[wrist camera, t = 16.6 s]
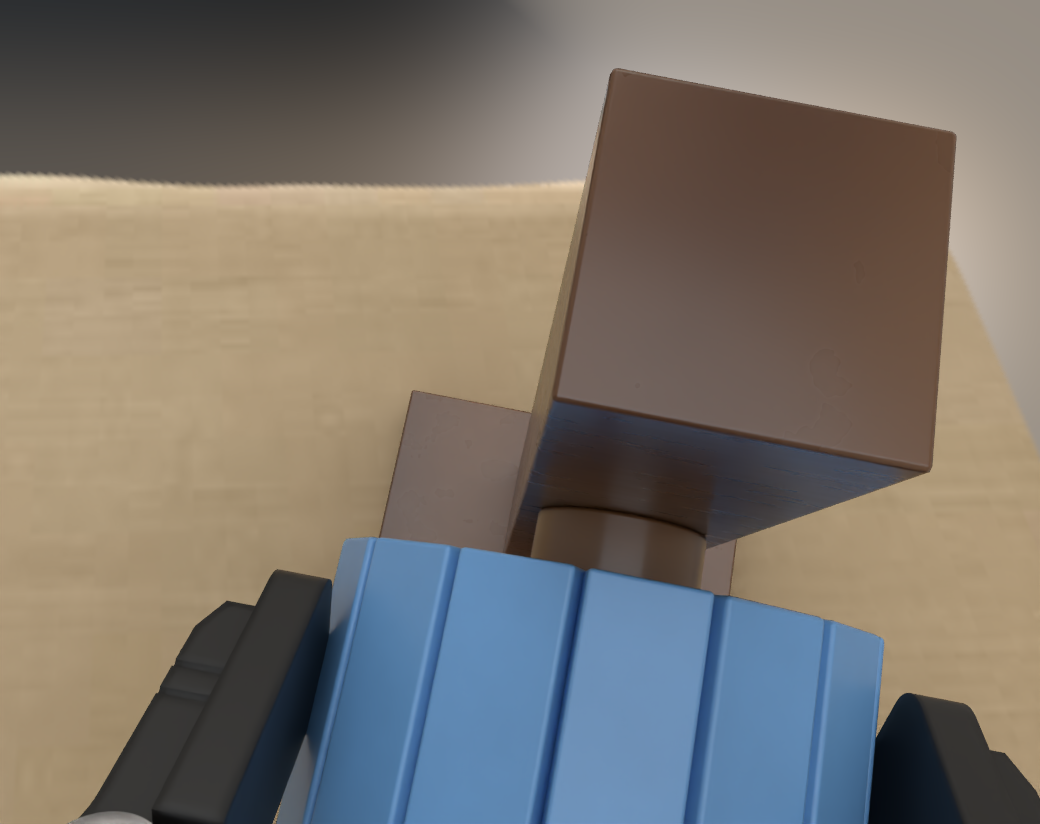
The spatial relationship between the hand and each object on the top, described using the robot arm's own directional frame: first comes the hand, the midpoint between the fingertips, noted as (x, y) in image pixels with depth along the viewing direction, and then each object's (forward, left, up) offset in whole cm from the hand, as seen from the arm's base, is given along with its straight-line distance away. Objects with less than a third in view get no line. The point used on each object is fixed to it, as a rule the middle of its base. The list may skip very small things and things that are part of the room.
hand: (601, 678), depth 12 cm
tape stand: (0, -1, -14) cm, 14 cm away
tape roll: (0, -1, -6) cm, 6 cm away
